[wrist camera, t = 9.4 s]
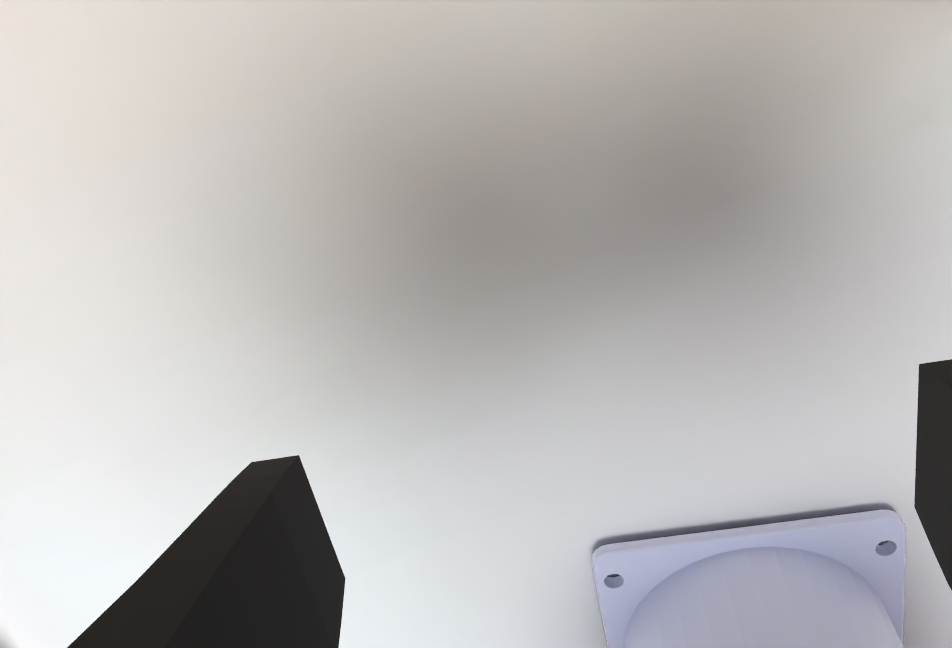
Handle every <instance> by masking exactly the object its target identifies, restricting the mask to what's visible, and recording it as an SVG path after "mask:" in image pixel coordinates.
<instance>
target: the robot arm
mask: <svg viewBox="0 0 952 648" xmlns="http://www.w3.org/2000/svg"><path fill="white" fill-rule="evenodd" d="M915 509H916V511H917V514H918V516H919V518H920V521H921V523H922V525H923V528H924V530H925V533H926V535H927V537H928V540H929V542H930V544H931V547H932V549H933V551H934V554H935V556H936V558H937V560H938V562H939V565H940V567H941V569H942V571H943V573H944V576H945V578H946V580H947V582H948V584H949V587H950V588H951V590H952V359H951V360H945V361H938V362H931V363H924V364H919V385H918V416H917V447H916V478H915ZM883 541H888V542H887V543H886V544H883V545H878V544H879V543H880V542H883ZM905 549H906V528H905V524H904V522H903V521H902V519H901V517H900V516H899V515H898V514H897V513H896V512H894V511H891V510H874V511H867V512H859V513H851V514H843V515H835V516H827V517H819V518H811V519H803V520H795V521H787V522H780V523H772V524H764V525H756V526H748V527H740V528H732V529H724V530H716V531H708V532H701V533H693V534H685V535H677V536H669V537H661V538H653V539H645V540H637V541H629V542H622V543H614V544H607V545H603V546H600V547H599V548H597V549H596V550H595V551H594V553H593V554H592V569H593V574H594V579H595V584H596V589H597V594H598V599H599V605H600V610H601V615H602V620H603V625H604V630H605V635H606V640H607V645H608V648H904V647H903V624H904V587H905ZM611 574H618V575H619V576H617V577H614V578H612V577H607V576H608V575H611ZM344 586H345V577H344V574H343V572H342V569H341V566H340V564H339V561H338V558H337V556H336V553H335V550H334V548H333V545H332V542H331V540H330V537H329V534H328V532H327V529H326V526H325V524H324V521H323V518H322V516H321V513H320V510H319V508H318V505H317V502H316V500H315V497H314V494H313V492H312V489H311V486H310V484H309V481H308V478H307V476H306V473H305V470H304V468H303V465H302V462H301V460H300V457H299V455H298V456H291V457H284V458H277V459H271V460H264V461H257V462H251V463H250V464H249V465H248V466H247V467H246V468H245V469H244V470H243V471H242V472H241V473H240V474H239V475H238V476H237V477H236V478H235V479H234V480H233V481H232V482H231V483H230V484H229V485H228V486H227V487H226V488H225V489H224V490H223V491H222V492H221V493H220V494H219V495H218V496H217V497H216V498H215V499H214V500H213V501H212V502H211V503H210V504H209V505H208V507H207V508H206V509H205V510H204V511H203V512H202V513H201V514H200V515H199V516H198V517H197V518H196V519H195V520H194V521H193V522H192V523H191V525H190V526H189V527H188V528H187V529H186V530H185V531H184V532H183V533H182V534H181V535H180V536H179V537H178V538H177V539H176V540H175V541H174V542H173V543H172V544H171V545H170V547H169V548H168V549H167V550H166V551H165V552H164V553H163V554H162V555H161V556H160V557H159V558H158V559H157V560H156V561H155V562H154V563H153V564H152V565H151V566H150V567H149V568H148V569H147V570H146V572H145V573H144V574H143V575H142V576H141V577H140V578H139V579H138V580H137V581H136V582H135V583H134V584H133V585H132V586H131V587H130V588H129V589H128V590H127V591H126V592H125V593H123V594H122V595H121V596H120V597H119V598H118V599H117V600H116V601H115V602H114V603H113V604H112V605H111V606H110V607H109V608H108V609H107V610H106V611H105V612H104V613H103V614H102V615H101V616H100V617H99V618H98V619H97V620H95V621H94V622H93V623H92V624H91V625H90V626H89V627H88V628H87V629H86V630H85V631H84V632H83V633H82V634H81V635H80V636H79V637H78V638H77V639H76V640H75V641H74V642H73V643H72V644H71V645H70V646H69V647H67V648H338V645H339V637H340V628H341V619H342V608H343V597H344Z"/></svg>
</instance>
